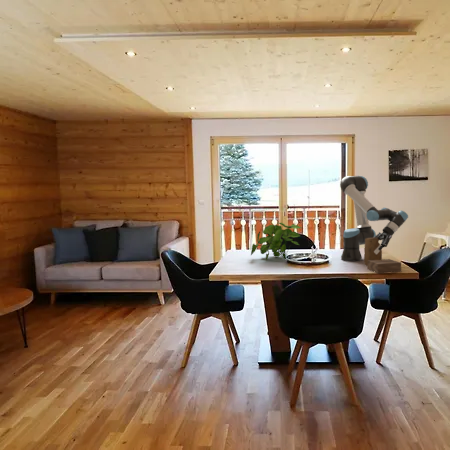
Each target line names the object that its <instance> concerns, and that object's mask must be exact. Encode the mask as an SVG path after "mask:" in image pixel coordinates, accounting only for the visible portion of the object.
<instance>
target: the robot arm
mask: <svg viewBox="0 0 450 450" xmlns="http://www.w3.org/2000/svg"><path fill="white" fill-rule="evenodd" d="M339 187H340V190H341V191H342V193H343V194H345V195H346V196H348V197H349V198H351V200H352V201H353V205H354V212H355V219H356V227H355V228H354V227H353V228H348V229H345V230H344V231H343V251H342V253H341V255H340V256H341V257H340V259H341V260H342V261H346V262H347V261H348V262H358V261H359V262H360V261H362V260H363V256H362V253H361V251H360V246H362V245H364V246H365V239H366V238H373V237H375V238H378V239H379V241H381V243H380V245H379V246H378V248H377V249H376V250H375V251H374V253H375V254H378V253H379V252H380V250H381V249H383V248H387V247H388V245H389V242H390V241H391V239H392V237H393V235H395V233H396V232H397V231H398V230H399V228H400V227H401V226H402V225H404V223H406V221H407V219H408V218H409V215H408V213H407V212H405V211H404V210H399V211H394V210H392V209H390V208H387V207H382V208H381V209H378V208H377V207H376V206H374V204H372V202H370V201H369V200H368V199H367V198H366V197H365V196H366V195H365V194H366V192H367V189H368V187H369V182H368V179H367V178H366V177H365V176H363V175H347V176H344V177H343V178H341V181H340V183H339ZM369 221H370V222H378V221H388V223H387V224H386V225H385V226H384V228H383V229H382V232H378V233H377V234H376V231H375V230H374V229H373V228H372V225H371V224H370V223H369ZM363 249H365V247H364V248H363Z"/></svg>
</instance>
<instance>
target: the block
mask: <svg viewBox="0 0 450 450" xmlns="http://www.w3.org/2000/svg"><path fill="white" fill-rule="evenodd" d="M379 241H380V240H379V239H378V238H375V237H373V238H366V239H365V244H364V248H365V249H364V248H363V249H364V257H363V261H364V265H365V266H366V267H367V260H382V259H383V258H382V256H383V250H382V249H383V248H382V249H381V250H380V252H379V253H378V254H375V253H374V251H375V250H376V249H377V248H378V246H379V245H381V243H380V242H379Z"/></svg>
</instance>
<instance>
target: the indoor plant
mask: <svg viewBox="0 0 450 450" xmlns="http://www.w3.org/2000/svg"><path fill="white" fill-rule="evenodd" d="M278 224H280V225H277V224H269V225H267V226H266V227H264V229H263V230H262V233H263V235H267V236H262V237H260V233H261V231H258V233H257V235H256V237H257V239H256V241H257V244H255V243H252V246H251V251H250V252H251V253H250V256H252V255H253V254H254V253H255V252H256V250H257V248H258V246H259V247H260V250H259V251H260V254H261V255H265V261H267V260H268V258H269V256H270V251H269V250H271V251H272V255H273V257H274V256H278V257H281V258H282V259H284V260H285V259H286V258H288V255H287V253H288V251H289V250H290V247H291V246H292V244H294V245H298V246H300V244H299V242H298V241H296V240H294V241H293V239H294V238H298V237H301V235H300V233H298V231H297V232H296V231H295V230H294V231H293V230H292V229H303V227H301V226H299V225H297V224H291V225H286V224H285V223H283V222H278ZM283 227H284V228H285V229H282V228H283ZM290 237H291V238H290ZM283 240H284V241H283ZM282 242H283V244H282ZM287 242H290V243H292V244H291V245H289V246H288V249H287V247H286V245H287ZM286 250H287V251H286ZM267 252H268V253H267Z"/></svg>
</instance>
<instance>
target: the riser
mask: <svg viewBox="0 0 450 450" xmlns="http://www.w3.org/2000/svg"><path fill="white" fill-rule="evenodd" d="M366 267H367V270H368V269H369V271H371V270H372V271H371V272H374V271H375V272H374V273H376V272H377V273H376V274H385V273H384V272H391V273H401V272H402V262H399V261H396V260H394V259H390V258H386V259H383V258H382V260H367V266H366Z"/></svg>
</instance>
